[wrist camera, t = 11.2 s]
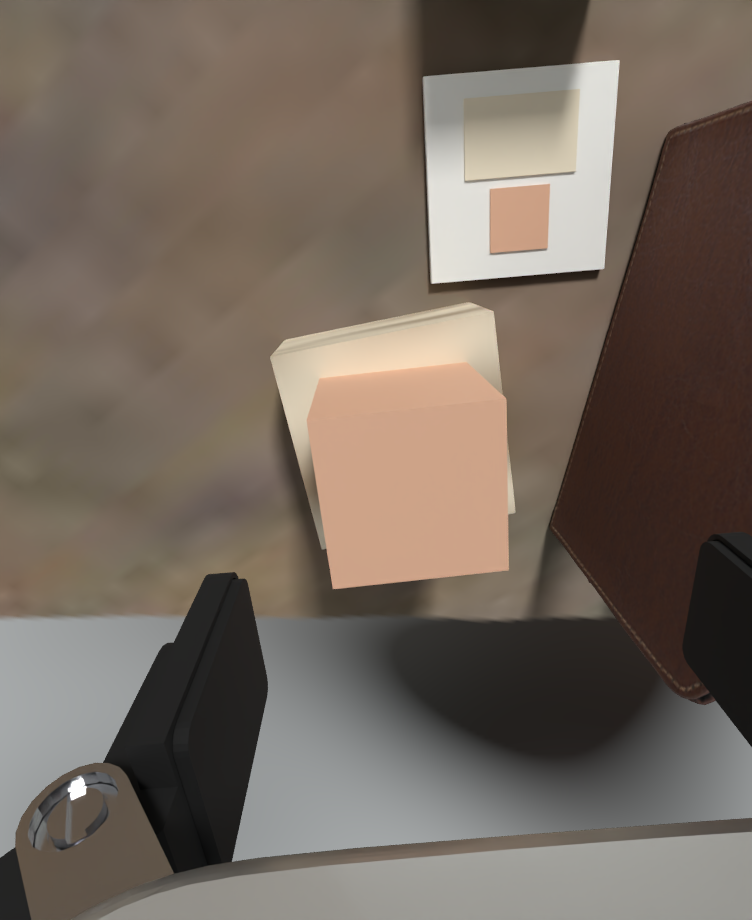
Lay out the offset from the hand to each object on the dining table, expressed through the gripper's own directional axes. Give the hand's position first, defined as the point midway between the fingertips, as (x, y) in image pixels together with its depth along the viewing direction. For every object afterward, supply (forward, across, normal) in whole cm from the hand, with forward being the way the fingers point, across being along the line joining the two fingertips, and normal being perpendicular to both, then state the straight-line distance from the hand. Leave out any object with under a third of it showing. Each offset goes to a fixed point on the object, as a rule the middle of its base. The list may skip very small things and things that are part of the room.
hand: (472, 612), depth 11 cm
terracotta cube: (+12, +1, +1) cm, 12 cm away
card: (+17, -5, -9) cm, 20 cm away
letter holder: (+18, -14, 0) cm, 23 cm away
